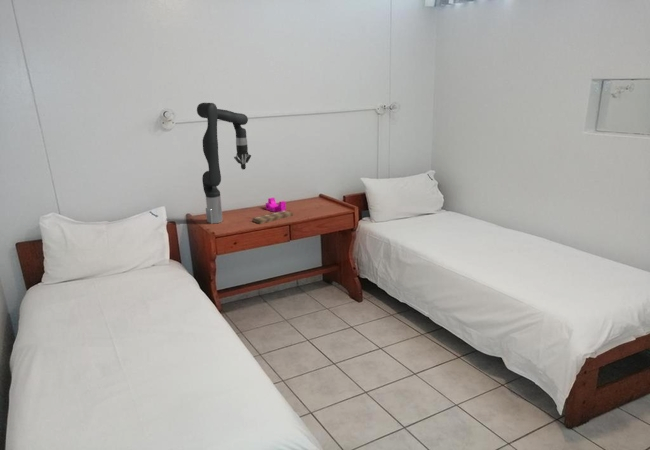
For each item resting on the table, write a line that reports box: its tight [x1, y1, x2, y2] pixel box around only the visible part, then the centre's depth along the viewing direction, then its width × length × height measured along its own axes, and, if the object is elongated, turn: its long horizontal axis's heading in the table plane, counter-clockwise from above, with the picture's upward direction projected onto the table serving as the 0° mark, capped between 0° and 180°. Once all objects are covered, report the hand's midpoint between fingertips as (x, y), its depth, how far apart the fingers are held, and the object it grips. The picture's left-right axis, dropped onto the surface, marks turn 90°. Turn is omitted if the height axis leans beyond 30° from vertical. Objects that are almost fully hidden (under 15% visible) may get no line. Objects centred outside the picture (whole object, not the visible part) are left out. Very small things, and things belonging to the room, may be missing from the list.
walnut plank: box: [252, 210, 293, 225], centre depth 310 cm, size 26×9×2 cm, turn 131°
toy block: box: [265, 197, 287, 213], centre depth 327 cm, size 15×6×8 cm, turn 43°
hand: (243, 169), depth 323 cm, fingers closed
